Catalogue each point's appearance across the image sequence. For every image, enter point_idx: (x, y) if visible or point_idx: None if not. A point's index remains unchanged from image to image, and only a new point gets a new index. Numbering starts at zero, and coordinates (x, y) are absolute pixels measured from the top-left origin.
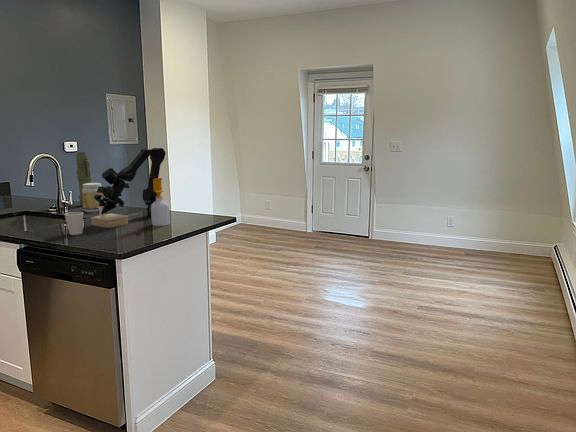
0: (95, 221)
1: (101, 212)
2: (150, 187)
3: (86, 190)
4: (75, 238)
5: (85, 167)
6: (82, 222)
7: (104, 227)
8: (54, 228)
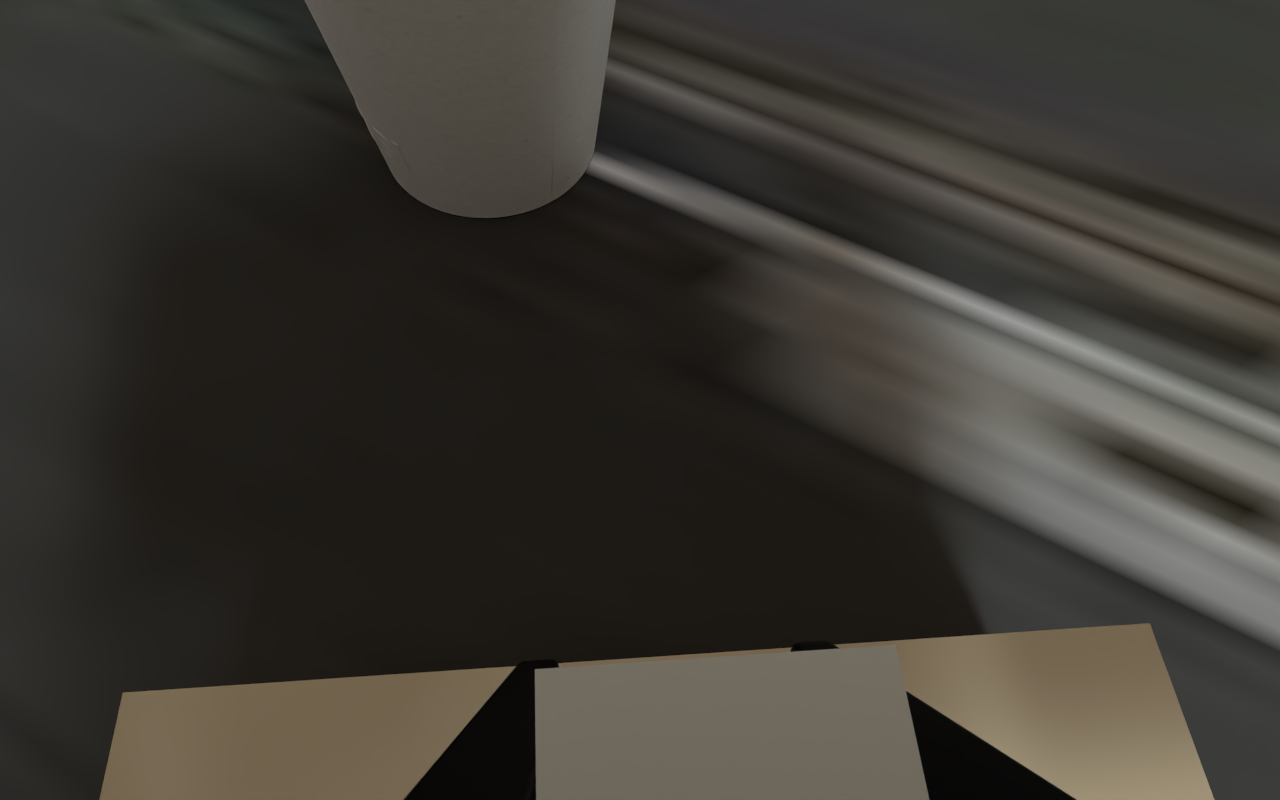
0: None
1: (511, 673)
2: None
3: None
4: (190, 3)
5: None
6: (317, 14)
7: None
8: (1228, 144)
